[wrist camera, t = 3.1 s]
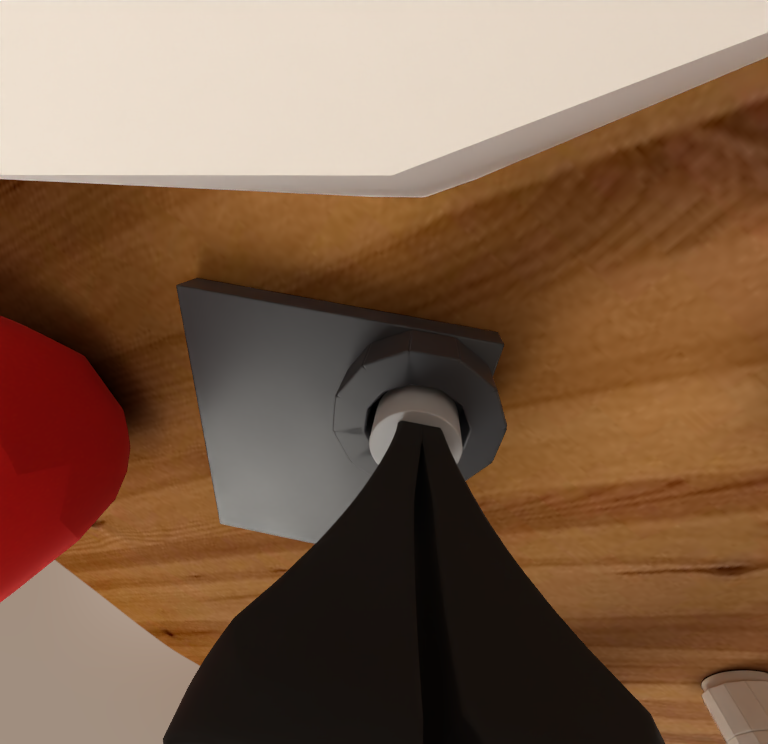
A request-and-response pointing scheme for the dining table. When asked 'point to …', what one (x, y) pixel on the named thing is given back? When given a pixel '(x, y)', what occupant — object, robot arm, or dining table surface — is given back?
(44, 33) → the mug
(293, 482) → the gray plate with knob
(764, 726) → the white faceted tumbler
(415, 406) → the button
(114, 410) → the tomato
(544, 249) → the dining table surface
